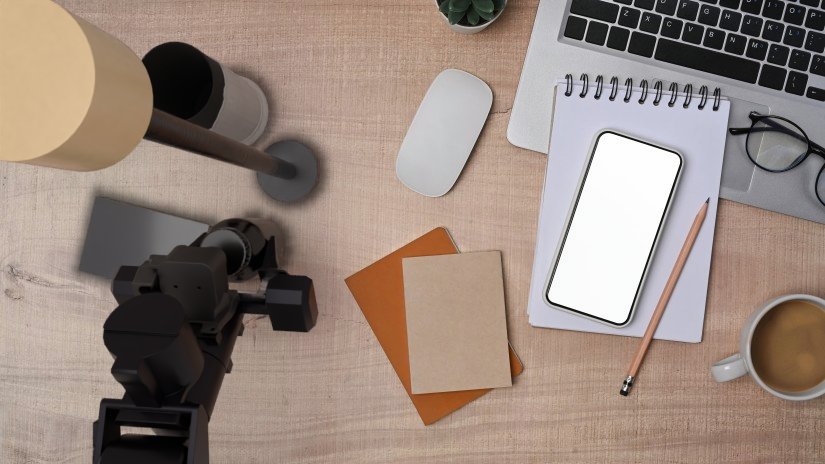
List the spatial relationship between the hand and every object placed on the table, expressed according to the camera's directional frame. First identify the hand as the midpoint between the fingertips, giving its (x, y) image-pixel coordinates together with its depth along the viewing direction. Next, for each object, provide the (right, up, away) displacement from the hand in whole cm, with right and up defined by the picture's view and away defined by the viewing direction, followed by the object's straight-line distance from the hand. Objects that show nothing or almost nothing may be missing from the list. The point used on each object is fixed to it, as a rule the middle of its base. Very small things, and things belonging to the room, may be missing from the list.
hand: (240, 236), depth 64 cm
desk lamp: (+4, +7, +6) cm, 11 cm away
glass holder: (-6, +15, +7) cm, 17 cm away
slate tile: (-13, -1, +7) cm, 15 cm away
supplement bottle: (0, -1, +7) cm, 7 cm away
